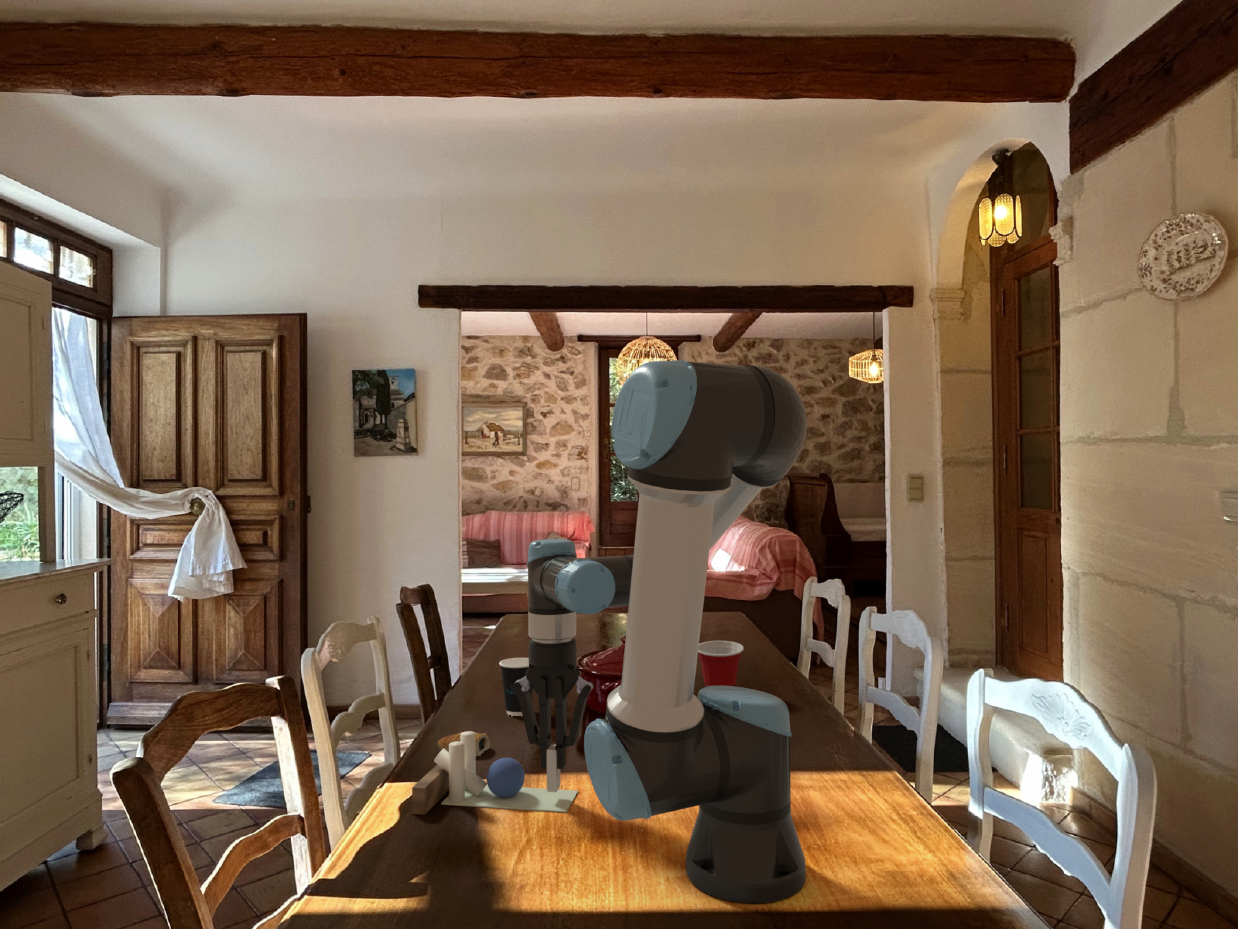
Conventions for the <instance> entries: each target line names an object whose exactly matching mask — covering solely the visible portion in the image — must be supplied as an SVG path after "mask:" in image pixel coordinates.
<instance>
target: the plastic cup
mask: <svg viewBox="0 0 1238 929" xmlns="http://www.w3.org/2000/svg"><path fill="white" fill-rule="evenodd" d="M743 651H744V645H743V644H741V643H739V642H736V641H731V640H730V641H729V640H709V641H705V642H704V641H703V642H701V643H700V642H699V647H698V657H699V662H700V666H701V672H702V678H703V684H704V687H707V686H734V687H736V684H737V679H738V671H739V665H740V664H739V663H740V660H741V659H740V658H741V655H742V652H743Z"/></svg>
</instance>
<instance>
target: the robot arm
mask: <svg viewBox="0 0 1238 929" xmlns="http://www.w3.org/2000/svg"><path fill="white" fill-rule="evenodd" d="M807 430H808V416H807V412H806V407H805V405H804V401H803V400H802V398H801V395H800V393H799V392H798V390H797V389H796V388H795V386H794V385H793V383H791V382H790V380H788V379H787V378H786V377H785V376H783V375H782V374H781V373H778V372H777V371H775V370H773V369H772V368H769V367H766V366H761V365H755V364H743V365H742V364H729V363H715V362H714V363H713V362H702V361H701V362H700V361H688V360H687V361H686V360H683V359H680V360H677V359H674V360H658V361H657V360H656V361H655V360H653V361H648V362H645V363H643V364H641V365H639V366H638V367H636V368H635V369H633V371H632V372H631V373H630V375H629V376H628V378H627V379H626V380H624V383H623V384H622V386H621V389H620V390H619V393H618V395H617V397H616V401H615V404H614V408H613V413H612V418H611V438H612V439H613V440H614V442H613V445H612V447H613V450H614V453H615V455H616V457H617V459H618V461H619V462H621V464H622V465H624V466H626V467H627V469H628V472H627V479H628V480H629V482H630V483H631V484H632V485H633V487H635V489H636V490H637V493H639V495H638V496H639V497H638V505H637V506H638V507H637V517H636V526H635V537H634V547H633V548H634V549H633V550H634V551H633V554H628V555H625V554H624V555H623V554H622V555H613V556H595V557H594V556H593V557H577V556H578V555H577V550H576V549H577V548H576V544H575V542H574V541H572V539H571V540H570V539H564V538H563V539H562V538H552V539H551V538H547V539H546V538H545V539H537V540H533V541H531V542H530V543H529V545H528V549H527V551H528V552H527V555H528V556H527V561H526V566H527V594H528V596H527V598H528V599H527V600H528V604H527V605H528V609H527V610H528V611H527V612H528V617H527V620H528V621H527V622H528V631H527V632H528V633H527V634H528V637H529V638H531V639H530V640H529V641H528V658H529V667H528V670H527V672H526V676H525V677H524V678H522V679H518V680H517V681H516V682H515V683H514V684H513V685H512V689H513V690H514V692H515V693H516V695H517V697H518V699H519V703H520V707H521V711H522V715H523V716H522V719H523V722H524V723H523V724H524V727H525V731H526V735H527V740H528V742H529V744H531V745H536V746H537V747H539V750H540V767H541V769H546V789H547V792H557V790H558V789H560V787H561V770H564V769H565V767H566V765H567V748H568V747H572V746H574V745H575V744H576V742H577V741H578V738H579V737H580V736H579V735H580V732H581V731H580V730H581V726H582V722H583V718H584V713H585V710H586V705H587V700H588V696H589V695H590V693H591V692H592V690H593V689H594V687H595V685H594V683H593V681H587V680H585V679H584V678H582V677H581V674H580V671H579V669H578V665H577V664H578V663H577V659H578V658H577V656H578V655H577V651H578V650H577V640H576V639H575V637H576V635H577V614H581V615H582V614H584V615H594V614H598V613H601V611H603V610H604V609H606V608H607V609H609V608H618V607H626V606H628V609H627V610H628V611H627V612H628V613H627V622H626V629H625V630H626V631H625V632H626V633H625V643H624V651H623V652H624V653H623V664H622V675H621V683H620V685H618V686H617V687H616V688H614V689H613V690H612V691H610V693H609V694H608V695H607V699H606V707H605V709H606V710H605V717H604V718H603V719H602V718H596V719H595V720H593V721H591V722H590V723H589V724H588V726H586V729H585V732H584V736H583V737H584V738H583V739H584V741H583V742H584V743H583V747H584V748H583V750H584V758H585V763H586V768H587V771H588V772H587V773H588V776H589V779H590V782H591V785H592V788H593V790H594V792H595V795H596V797H597V799H598V801H599V803H600V804H601V806H602V807H603V809H604V810H605V812H606V813H607V814H608V815H610V816H611V817H612V818H614V819H615V820H618V821H622V822H624V821H625V822H626V821H632V820H638V819H643V820H648V819H651V817H654V816H658V815H663V814H667V813H671V812H675V811H681V810H685V809H689V808H694V807H698V813H697V816H696V820H695V822H694V825H693V829H692V832H691V835H690V839H689V842H688V844H687V848H686V852H685V872H686V876H687V878H688V879H689V881H690V882H691V883H692V884H693V886H695V887H696V888H697V889H698V890H700V891H702V892H703V893H706V894H708V895H710V896H713V897H715V898H718V899H722V900H725V901H730V902H733V903H734V902H735V903H743V904H763V903H773V902H777V901H781V900H785V899H787V898H790V897H792V896H794V895H795V894H797V893H798V892H800V890H801V889H802V888H803V887H804V886H805V884H806V881H807V880H806V876H807V874H806V870H807V869H806V867H807V866H806V857H805V854H804V852H803V847H802V845H801V842H800V839H799V835H798V833H797V830H796V826H795V823H794V821H793V817H792V809H791V808H792V807H791V804H792V801H791V800H792V799H791V796H792V795H791V793H792V792H791V791H792V790H791V788H792V787H791V737H793V736H792V733H793V732H792V731H791V724H790V722H791V721H790V712H789V708H788V705H787V704H786V703H785V702H784V701H783V700H782V699H781V698H779V697H778V696H776V695H774V694H771V693H769V692H766V691H760V690H757V689H751V688H747V687H742V686H741V687H740V686H735V687H734V686H707V687H705V686H704V687H703V688H701V689H699V691H698V694H697V696H696V695H695V694H694V688H695V680H696V674H697V673H696V672H697V665H698V664H697V662H698V657H699V654H698V647H699V644H700V637H701V628H702V627H701V626H702V619H703V610H704V602H705V594H706V586H707V576H708V567H709V566H708V565H709V558H710V557H709V556H710V551H711V549H712V548H713V547H714V546H715V545H716V543H717V542H719V540H720V539H721V538H722V536H723V535H724V534H725V533H726V532H727V531H728V529H730V527H731V526H732V525H733V524H734V522H735V521H736V520H737V519H738V518H739V516H740V515H741V514H742V513H743V512H744V511H745V510H746V509H747V507H748V506H749V505H750V504H751V503H752V502H753V500H754V499H755V498H756V497H757V496H758V494H759V493H760V492H761V491H762V490H763V489H768V488H772V487H775V486H776V485H777V484H779V482H781V481H782V480H783V479H784V477H785V476H786V475H787V474H788V473H789V472H790V470H791V468H792V467H793V466H794V465H795V463H796V462H797V460H798V459H799V456H800V455H801V453H802V450H803V448H804V444H805V441H806V437H807ZM529 683H530V684H531V686H532V687H533V691H534V692H535V693H536V695H537V696H538V705H539V706H538V707H539V710H538V712H539V717H538V718H539V726H538V722H537V717H536V713H535V708H534V704H533V700H532V699H533V698H532V699H531V695H530V692H529V689H530V686H529ZM574 686H576V693H577V694H578V695H577V698H576V700H575V705H574V710H573V714H572V718H571V723H570V727H569V731H568V728H567V727H568V722H567V720H568V719H567V718H568V716H567V715H568V714H567V708H568V707H567V702H568V695H569V694H570V692H571V691H572V690H573V688H574ZM552 699H553V700H554V707H555V709H554V710H555V712H554V713H555V744H554V743H552V744H551V742H552V741H553V738H552V707H551V706H552V704H551V702H552Z"/></svg>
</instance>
